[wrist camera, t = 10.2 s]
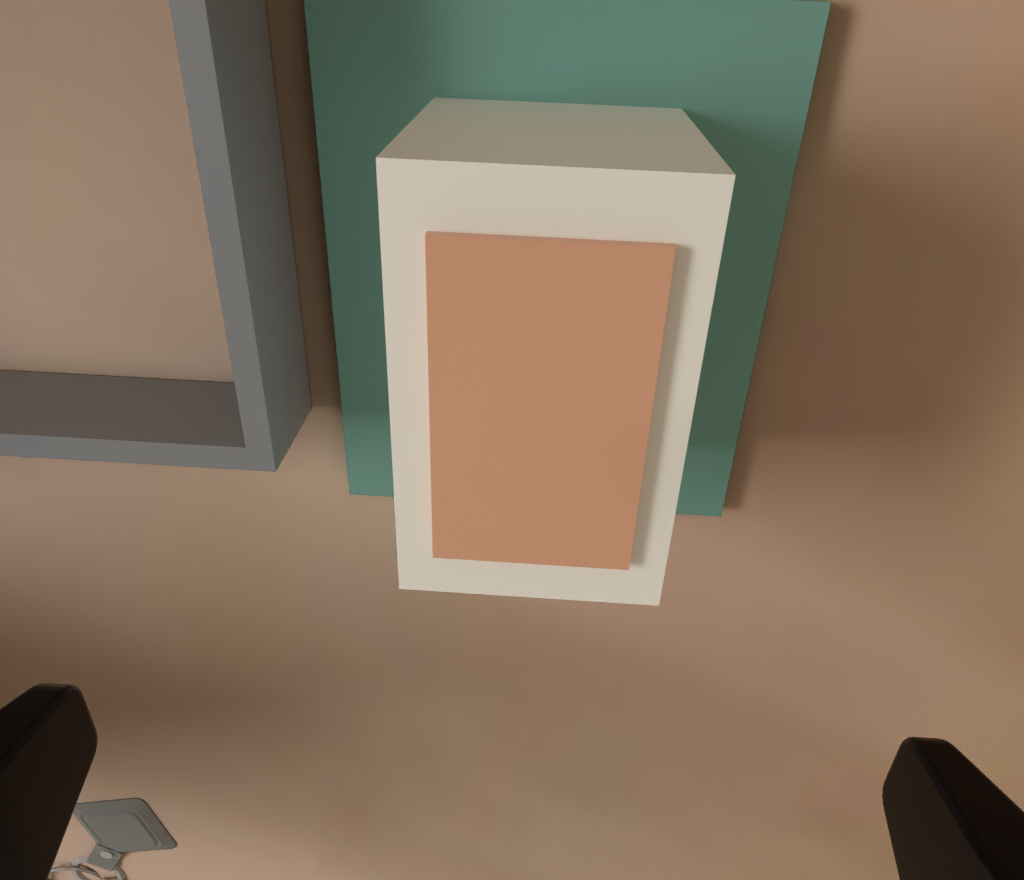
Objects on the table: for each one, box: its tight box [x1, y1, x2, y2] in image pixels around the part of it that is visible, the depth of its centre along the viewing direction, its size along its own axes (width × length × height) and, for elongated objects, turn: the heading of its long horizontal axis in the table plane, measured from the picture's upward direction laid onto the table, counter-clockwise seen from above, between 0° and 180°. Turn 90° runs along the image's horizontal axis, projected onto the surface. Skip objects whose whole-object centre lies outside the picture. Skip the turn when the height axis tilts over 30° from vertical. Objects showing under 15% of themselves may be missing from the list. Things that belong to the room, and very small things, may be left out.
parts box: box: [376, 97, 736, 606], centre depth 15 cm, size 5×8×6 cm, turn 178°
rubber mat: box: [304, 0, 831, 516], centre depth 18 cm, size 10×12×1 cm
